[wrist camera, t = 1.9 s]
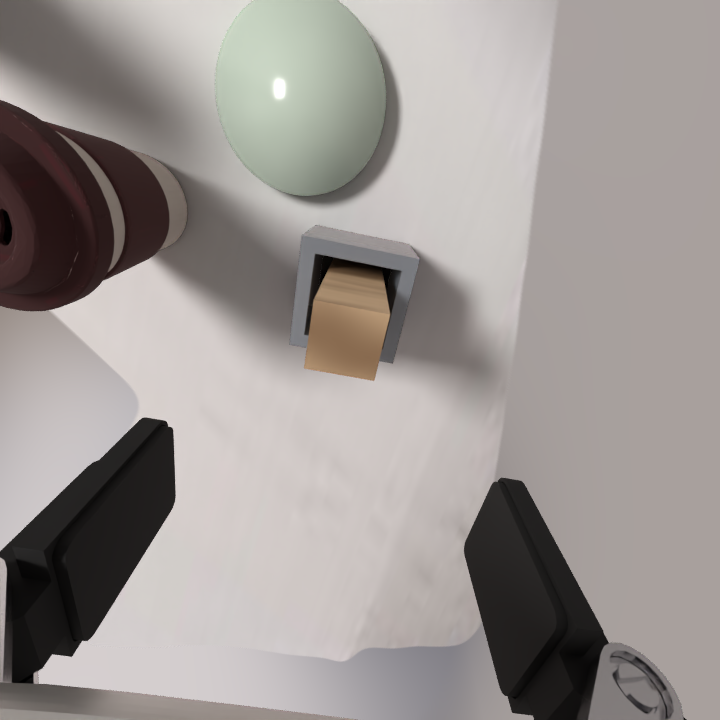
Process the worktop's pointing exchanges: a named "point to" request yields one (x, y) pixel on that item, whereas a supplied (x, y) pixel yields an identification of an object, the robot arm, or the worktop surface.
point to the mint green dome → (300, 94)
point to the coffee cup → (76, 211)
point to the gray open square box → (357, 250)
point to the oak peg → (348, 320)
